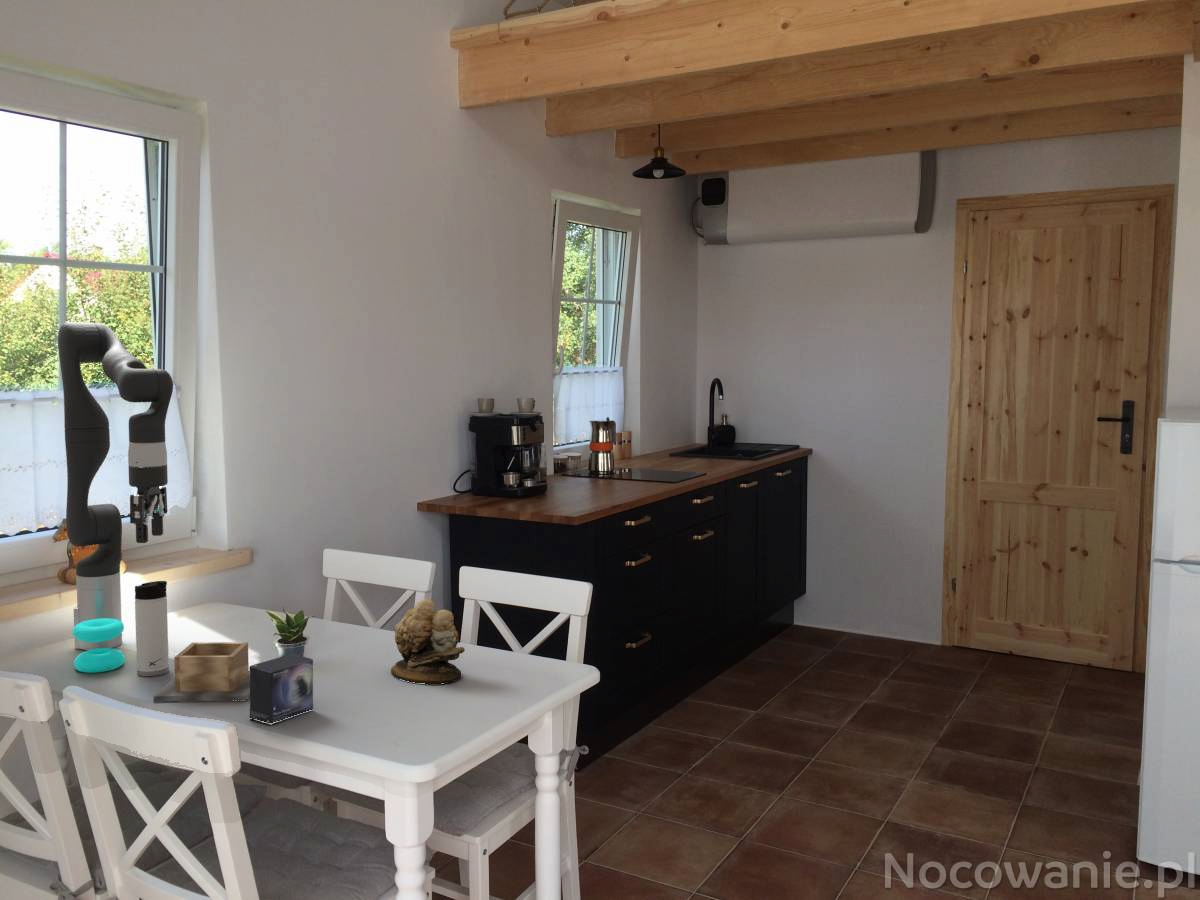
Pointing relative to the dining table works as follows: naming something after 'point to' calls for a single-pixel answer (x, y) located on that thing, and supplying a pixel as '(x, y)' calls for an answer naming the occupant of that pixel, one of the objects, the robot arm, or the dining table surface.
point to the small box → (281, 688)
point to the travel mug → (151, 628)
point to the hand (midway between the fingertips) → (150, 539)
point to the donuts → (101, 656)
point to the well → (209, 673)
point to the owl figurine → (427, 645)
